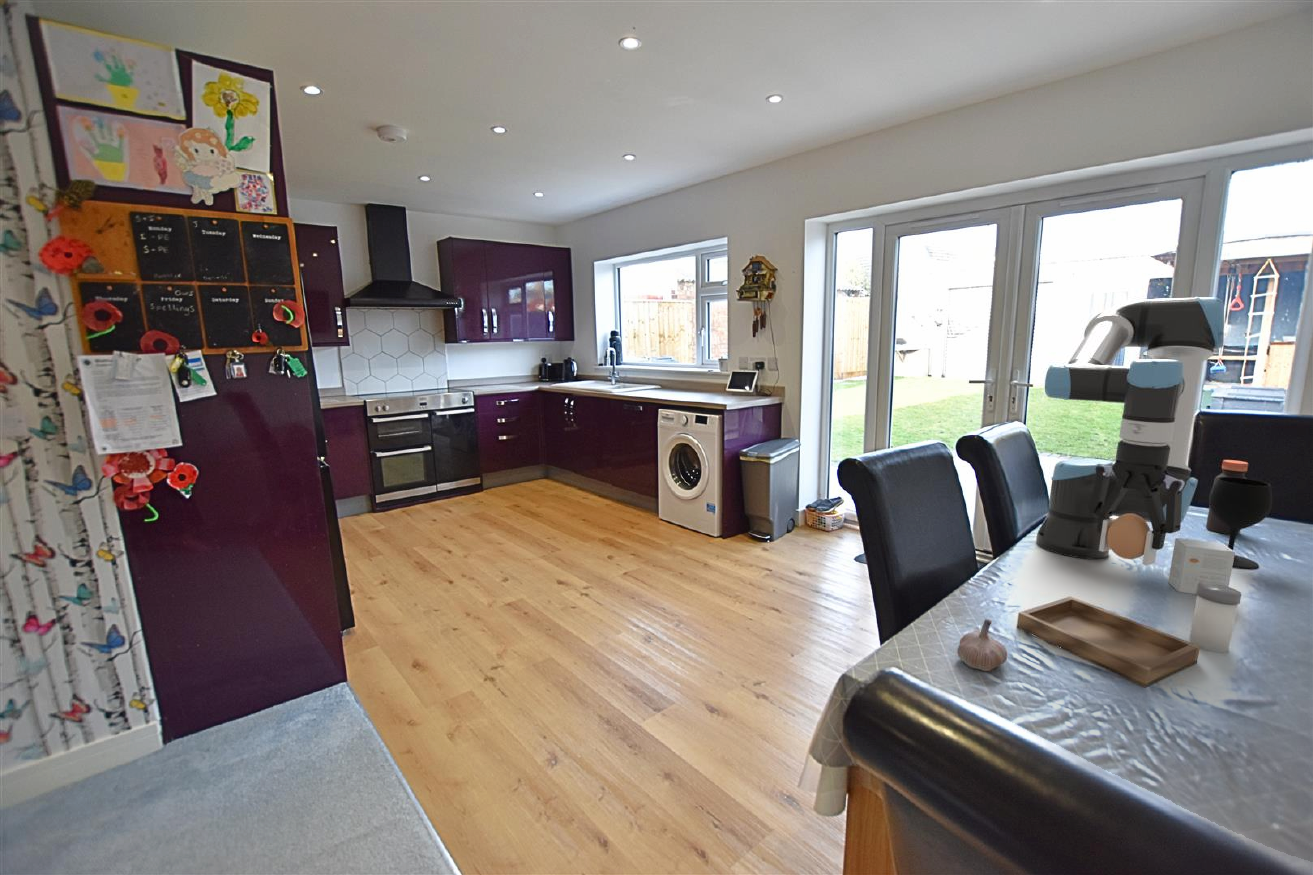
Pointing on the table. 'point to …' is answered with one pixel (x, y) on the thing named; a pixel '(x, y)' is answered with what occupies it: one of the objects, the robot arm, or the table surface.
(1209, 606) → the shaker
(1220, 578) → the small box
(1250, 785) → the table surface
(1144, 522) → the egg
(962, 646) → the garlic bulb
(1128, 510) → the robot arm
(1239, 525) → the wine glass
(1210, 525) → the bottle
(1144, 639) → the tray
